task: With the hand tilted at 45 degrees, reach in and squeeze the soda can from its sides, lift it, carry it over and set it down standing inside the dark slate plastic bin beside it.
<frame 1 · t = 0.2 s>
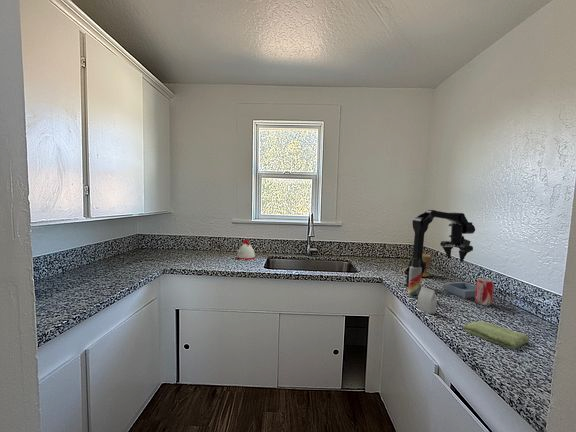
hand: (455, 260, 173), 15 cm above the worktop, tool pointing down, fingers open, 9 cm apart
stone cup: (418, 275, 194), on the worktop
bin: (464, 293, 157), on the worktop
soda can: (483, 304, 143), on the worktop
washcloth: (494, 337, 109), on the worktop
tea bag: (426, 310, 132), on the worktop
lotion bottle: (414, 296, 151), on the worktop
white rounded cone: (246, 258, 231), on the worktop
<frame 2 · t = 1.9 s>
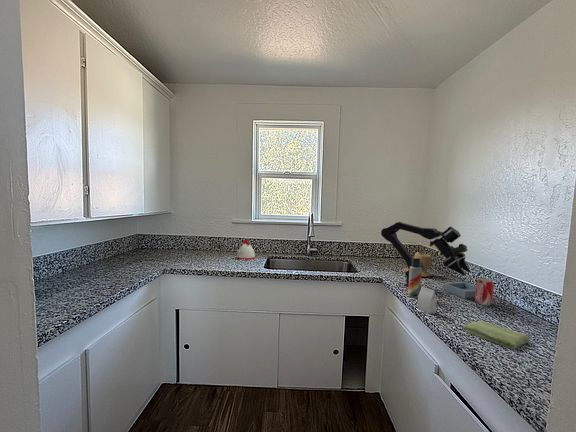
hand: (466, 273, 147), 13 cm above the worktop, tool tilted 45°, fingers open, 9 cm apart
nothing on the worktop moved.
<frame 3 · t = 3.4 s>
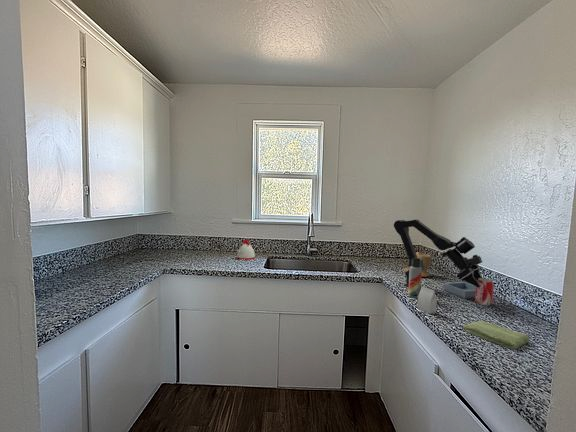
hand: (481, 285, 143), 9 cm above the worktop, tool tilted 45°, fingers open, 9 cm apart
nothing on the worktop moved.
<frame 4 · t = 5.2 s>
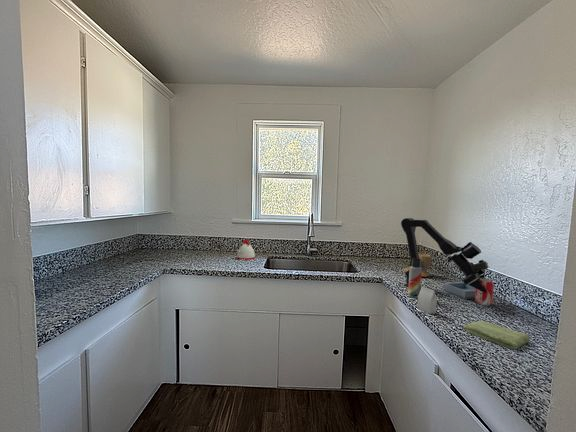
hand: (487, 291, 141), 7 cm above the worktop, tool tilted 45°, fingers closed on soda can, 7 cm apart
soda can: (483, 304, 143), on the worktop, touching gripper
everything else where it was.
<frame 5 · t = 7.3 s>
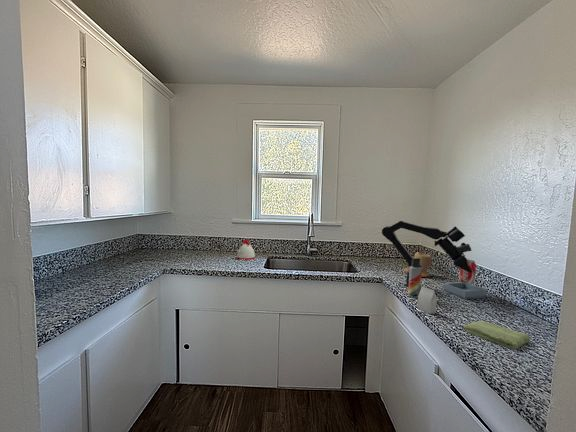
hand: (470, 270, 154), 13 cm above the worktop, tool tilted 45°, fingers closed on soda can, 7 cm apart
soda can: (466, 283, 155), point 6 cm above the worktop, touching gripper
everything else where it was.
when the fingers open (9 cm above the worktop, at t = 9.4 s): soda can drops 1 cm, resting on bin.
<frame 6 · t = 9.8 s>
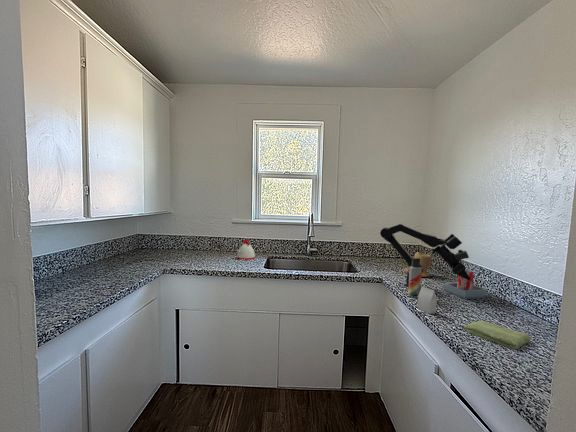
hand: (468, 277, 156), 9 cm above the worktop, tool tilted 45°, fingers open, 9 cm apart
soda can: (464, 292, 157), point 1 cm above the worktop, touching bin
everything else where it was.
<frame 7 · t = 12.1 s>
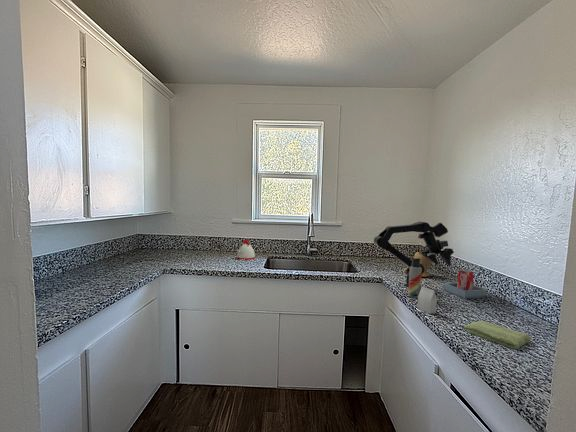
hand: (443, 265, 166), 13 cm above the worktop, tool tilted 30°, fingers open, 9 cm apart
nothing on the worktop moved.
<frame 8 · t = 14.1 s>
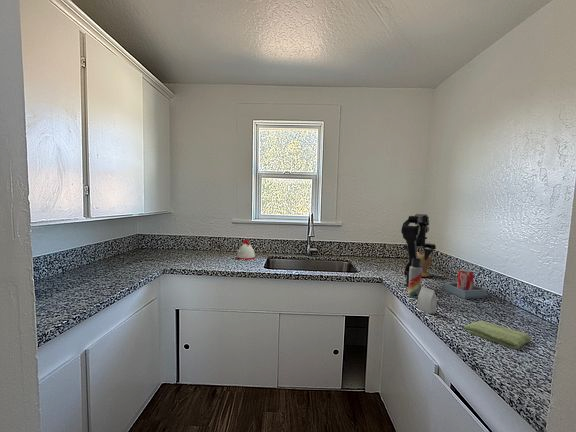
hand: (418, 260, 176), 13 cm above the worktop, tool pointing down, fingers open, 9 cm apart
nothing on the worktop moved.
at the end: soda can inside the target area on the bin (0.2 cm from its centre), point 0.8 cm above the bin's base; soda can tilted 0°; the gripper is holding nothing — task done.
